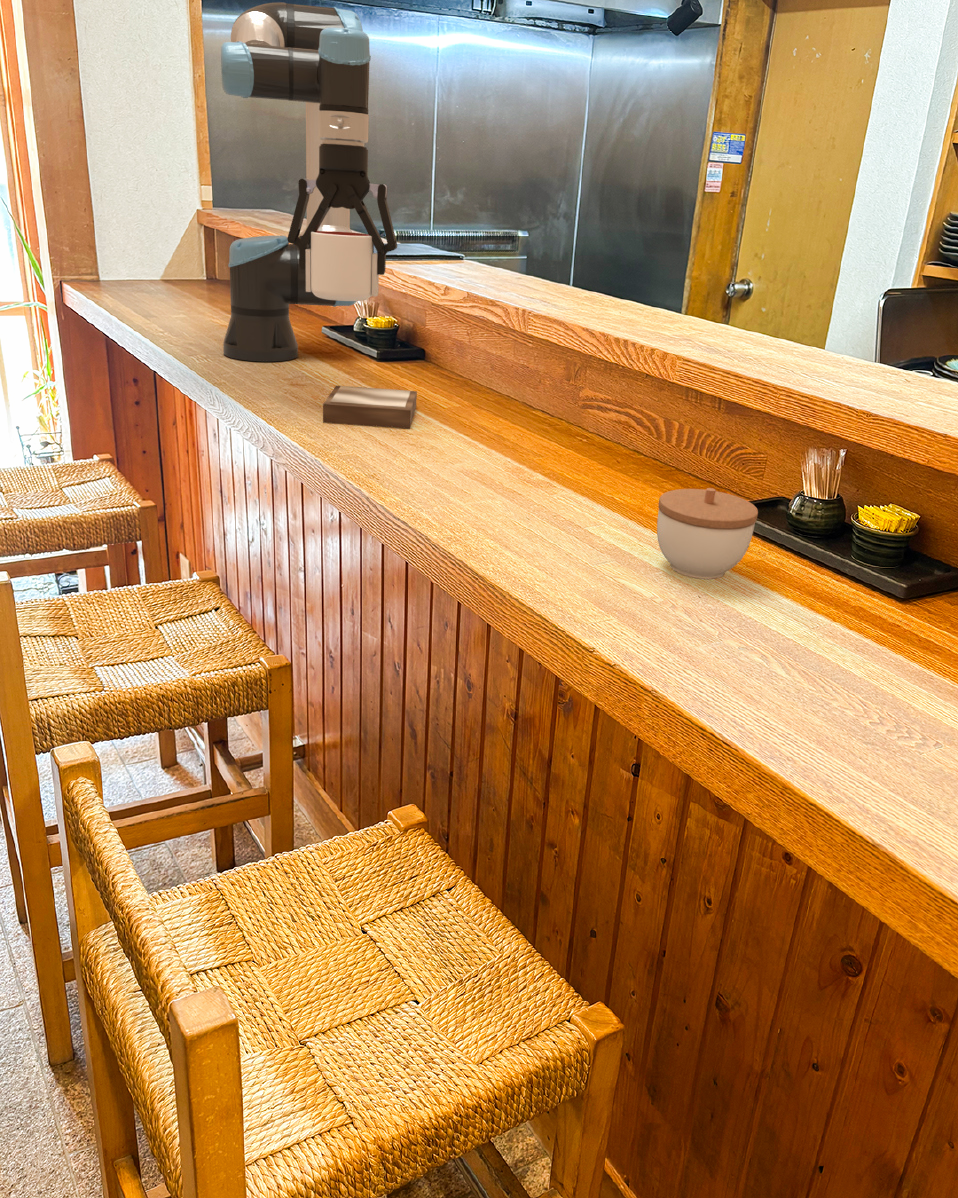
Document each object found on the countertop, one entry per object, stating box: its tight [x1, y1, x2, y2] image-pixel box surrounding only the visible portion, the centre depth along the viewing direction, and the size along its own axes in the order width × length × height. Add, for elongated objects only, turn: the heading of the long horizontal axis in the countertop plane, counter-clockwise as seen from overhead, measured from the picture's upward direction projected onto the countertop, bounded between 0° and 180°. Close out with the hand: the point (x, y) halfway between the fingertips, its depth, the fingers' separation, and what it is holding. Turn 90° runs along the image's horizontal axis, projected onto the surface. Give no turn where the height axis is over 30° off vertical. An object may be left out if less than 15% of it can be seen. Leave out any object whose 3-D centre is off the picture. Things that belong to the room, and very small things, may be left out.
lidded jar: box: [656, 487, 759, 580], centre depth 108 cm, size 11×11×9 cm
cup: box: [311, 231, 375, 302], centre depth 158 cm, size 10×10×10 cm
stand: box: [322, 385, 418, 430], centre depth 163 cm, size 14×14×3 cm
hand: (342, 293), depth 160 cm, fingers closed on cup, 10 cm apart
